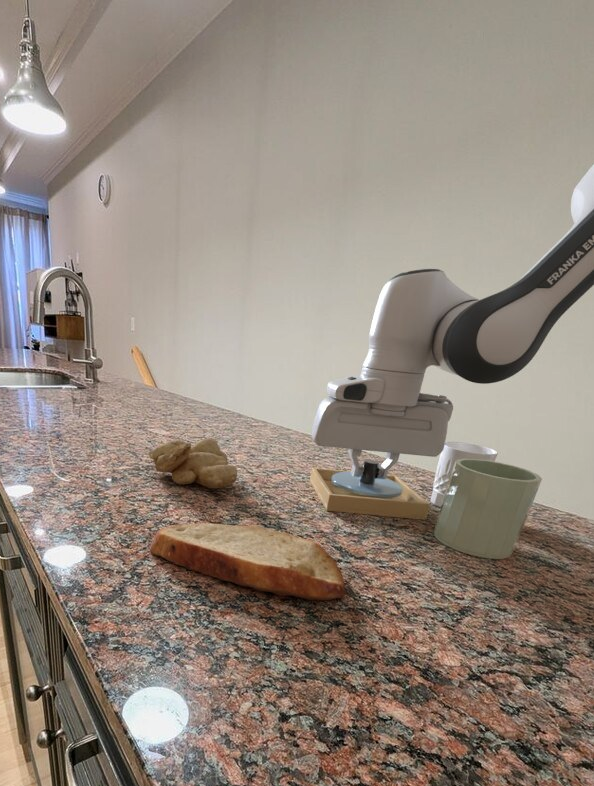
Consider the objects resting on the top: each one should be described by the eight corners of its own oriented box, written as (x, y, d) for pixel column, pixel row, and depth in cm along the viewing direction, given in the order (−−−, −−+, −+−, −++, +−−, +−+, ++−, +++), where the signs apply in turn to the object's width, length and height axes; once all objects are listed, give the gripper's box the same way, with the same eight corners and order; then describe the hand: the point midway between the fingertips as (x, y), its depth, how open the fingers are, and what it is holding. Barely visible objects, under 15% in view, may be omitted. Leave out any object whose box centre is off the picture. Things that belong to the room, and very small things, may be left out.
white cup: (487, 516, 72) (509, 456, 68) (439, 512, 71) (458, 451, 68) (462, 499, 79) (480, 443, 75) (418, 495, 79) (434, 439, 75)
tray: (392, 489, 81) (396, 475, 80) (425, 520, 68) (430, 504, 67) (309, 481, 81) (312, 467, 80) (326, 510, 68) (329, 494, 67)
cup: (487, 530, 66) (511, 462, 62) (528, 562, 57) (560, 484, 53) (422, 524, 66) (442, 455, 62) (453, 555, 57) (479, 477, 53)
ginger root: (153, 453, 83) (165, 412, 80) (232, 483, 83) (248, 443, 80) (127, 481, 69) (139, 433, 66) (222, 517, 69) (240, 471, 66)
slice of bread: (142, 540, 53) (143, 511, 52) (272, 526, 60) (276, 500, 59) (198, 632, 38) (202, 594, 37) (363, 599, 45) (371, 567, 44)
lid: (387, 481, 79) (393, 455, 77) (412, 504, 68) (420, 475, 67) (324, 475, 79) (329, 449, 77) (339, 497, 68) (345, 468, 66)
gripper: (446, 393, 70) (423, 477, 76) (318, 381, 70) (303, 465, 76) (466, 399, 65) (439, 489, 70) (326, 386, 64) (309, 477, 70)
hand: (367, 477), depth 73 cm, fingers closed on lid, 2 cm apart
